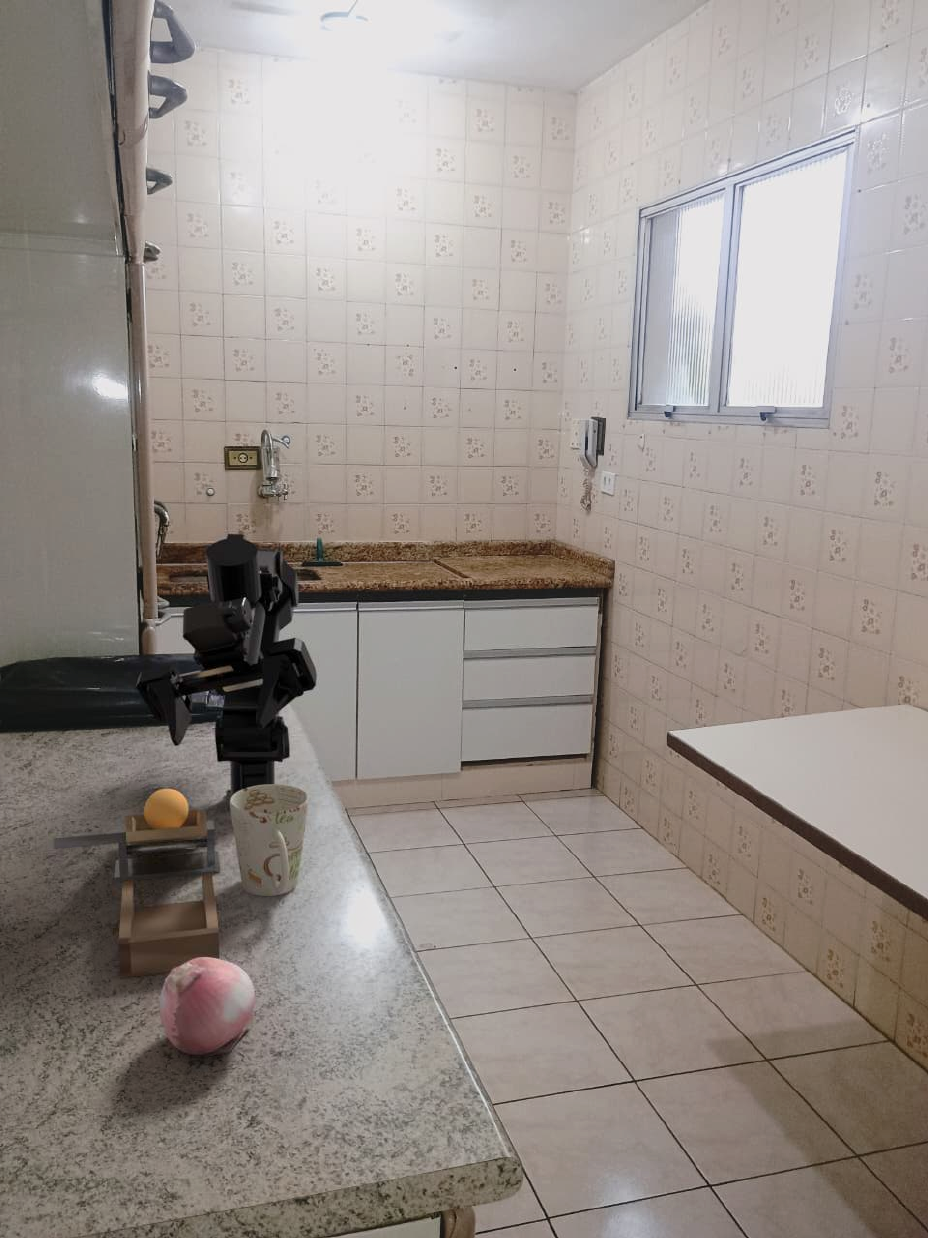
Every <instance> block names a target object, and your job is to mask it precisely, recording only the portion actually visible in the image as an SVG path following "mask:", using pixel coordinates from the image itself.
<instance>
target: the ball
mask: <svg viewBox="0 0 928 1238" xmlns="http://www.w3.org/2000/svg"><path fill="white" fill-rule="evenodd" d="M188 811H189V804H188V801H187V798H186V797H185V796H184V795H183V794H182V793H181V792H180V791H178V790H175V789H172V788H163V789H159V790H157V791H155V792H153V793H152V794H151V795H150V796H149V797H148V799H147V800H146V801H145V804H144V808H143V814H144V817H145V820H146V822H147V823H148V825H149V826H150V827H151V828H153V829H165V828H177V827H180V826H182V825H183V823H184V822H185V820H186V818H187V816H188Z"/></svg>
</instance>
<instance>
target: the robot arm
mask: <svg viewBox="0 0 928 1238" xmlns="http://www.w3.org/2000/svg"><path fill="white" fill-rule="evenodd" d="M205 559H206V568H207V569H206V570H207V572H206V583H207V590H208V592H209V594H210V599H211V601H212V602H209V603H208V602H207V603H204V604H200V605H196V606H195V605H194V606H190V607H188V608H187V607H186V608H185V609H184V610H183V611H182V613H183V614H182V638H183V640H185V641H187V643H189V644H190V646H192V648H193V649H194V653H193V657H192V658H193V660H194V661H195V663H196V666H200V665H201V667H202V669H201V670H195V671H192V672H186V673H182V674H181V673H180V671H179V669H178V668H177V665H176V664H168V665H163V666H159V667H154V668H151V669H145V670H141V673H140V674H139V676H138V679H137V682H136V685H135V688H136V690H137V691H138V692H139V694H140V696H141V698H142V699H143V701H144V702H145V704H146V706H147V708H148V709H149V711H150V712H151V715H152V716H153V718H154V720H157V721H160V722H164V723H165V724H167V726H168V731H169V736H170V740H171V742H172V743H173V745H174V746H175V747H177V746H179V745H180V744H181V743H182V742H183V740H184V738H185V735H186V732H187V731H188V728H189V726H190V723H191V721H192V719H193V716H192V714H191V712H192V711H193V707H194V703H193V696H192V695H195V694H198V693H203V692H208V691H212V690H214V691H215V692H216V694H217V695H218V696H222V695H224V700H223V705H222V707H221V708H222V709H221V713H220V715H217V716H216V718H215V724H214V725H215V726H214V737H215V738H214V741H215V748H216V749H215V751H216V760H217V762H218V763H223V762H229V763H230V764H229V765H230V766H229V768H230V789H227V790H226V792H225V793H226V798H227V799H226V800H227V805H228V810H229V811H230V799H231V797H232V796H233V795H234V794H235V793H236V792H238V791H240V790H242V789H245V788H248V787H253V786H258V785H267V784H276V783H275V780H276V779H275V777H276V776H275V775H276V774H275V773H276V772H275V770H276V769H275V762H278V763H283V761H284V760H285V759H289V758H290V757H291V754H290V749H291V748H290V747H291V746H290V742H291V741H290V733H289V727H288V726H287V725H286V723H285V720H284V716H280V712H281V711H282V710H283V709H284V708H285V707H287V706H288V705H289V704H290V703H291V702H293V700H295V699H297V698H298V697H302V696H303V695H304V693H305V692H308V691H313V690H314V689H315V688H316V686H317V677H318V675H317V669H316V666H315V664H314V661H313V659H312V657H311V655H310V653H309V652H310V651H308V648H307V645H306V643H305V642H304V641H303V640H301V639H300V638H298V637H291V638H287V639H284V640H283V639H282V640H279V638H280V632H281V631H282V630H283V629H284V628H285V627H286V626H288V625H289V624H290V623H291V622H292V621H293V615H294V608H298V607H299V582H298V580H299V579H298V574H297V571H296V570H295V569H294V568H293V567H292V566H291V565H290V564H289V563H288V562H286V561H285V560H284V555H283V550H282V549H278V548H268V547H266V548H265V547H264V548H262V547H261V548H260V547H259V548H258V547H257V545H256V544H255V543H254V542H252V541H250V540H247V539H246V534H244V533H240V534H239V533H228V534H227V536H226V538H224V539H220V540H218V541H215V542H213V543H211V544H210V545H209V546H208V547H206V549H205Z"/></svg>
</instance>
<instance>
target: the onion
mask: <svg viewBox="0 0 928 1238" xmlns="http://www.w3.org/2000/svg"><path fill="white" fill-rule="evenodd" d="M255 992H256V991H255V987H254V984H253V982H252V980H251V978H250V976H249V974H248V973H247V972H245V971H244V969H242V968H241V967H239V966H238V965H236V964H235V963H231V962H229V961H227V960H223V959H220V958H219V959H216V958H209V957H199V958H195V959H192V960H190V961H188V962H186V963H184V964H183V965H180V966H179V967H176V968H174V969H173V970H172V971H171V972H169V974H168V976H167V977H165V979H164V983H163V986H162V990H161V995H160V997H159V1005H158V1006H159V1009H158V1010H159V1017H160V1021H161V1025H162V1027H163V1029H164V1032H165V1034H166V1037H167V1039H168V1040H169V1041H170V1042H171V1045H173V1046H174V1047H175V1048H177V1049H178V1050H179V1051H180V1052H182V1053H185V1054H189V1055H192V1056H194V1057H197V1058H204V1057H205V1058H206V1057H211V1056H217V1055H223V1054H229V1053H231V1051H232V1049H234V1047H235V1045H236V1044H237V1043H238V1041H239V1040H240V1039H241V1037H242V1036H243V1035H244V1033H245V1032H246V1030H247V1029H248V1028H249V1026H250V1025H251V1024H252V1022H253V1021H254V1020H255V1018H256V1017H255V1016H254V1014H253V1011H254V1007H255V1002H256V999H255V998H256V995H255V994H256V993H255Z"/></svg>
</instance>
